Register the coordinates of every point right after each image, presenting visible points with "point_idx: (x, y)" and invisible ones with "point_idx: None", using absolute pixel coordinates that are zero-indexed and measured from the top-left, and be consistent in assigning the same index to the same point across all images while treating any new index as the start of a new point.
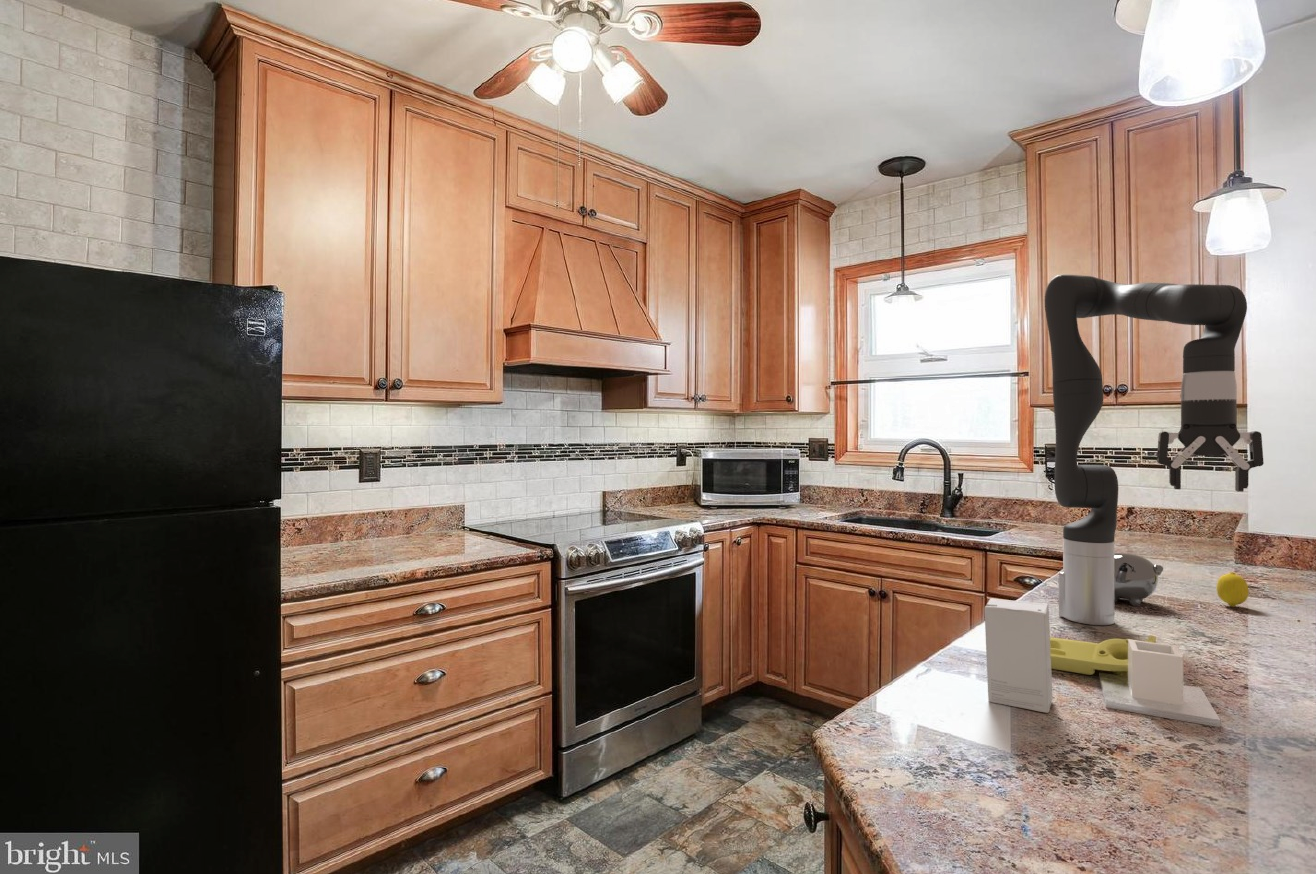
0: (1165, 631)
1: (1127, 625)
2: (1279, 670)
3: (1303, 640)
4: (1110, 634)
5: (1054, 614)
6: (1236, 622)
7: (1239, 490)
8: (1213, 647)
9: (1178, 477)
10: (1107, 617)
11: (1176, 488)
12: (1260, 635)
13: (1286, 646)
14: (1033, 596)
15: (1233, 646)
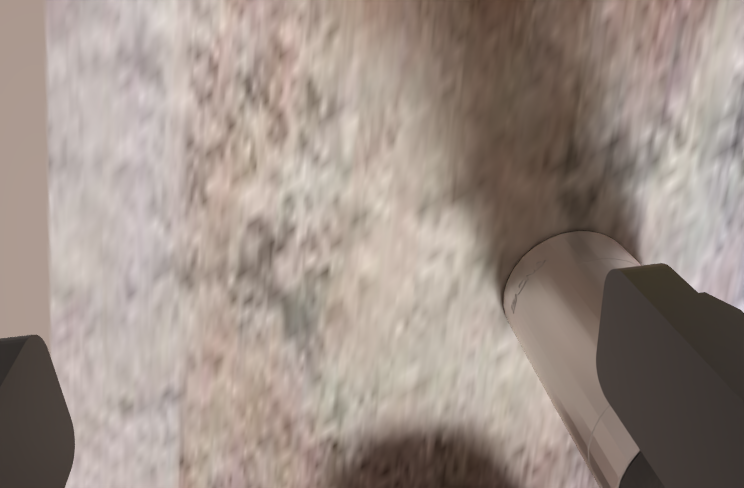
0: (378, 288)
1: (470, 293)
2: (110, 32)
3: None
4: (527, 161)
5: None
6: (203, 484)
7: (22, 338)
8: (268, 188)
9: (716, 339)
10: (533, 266)
11: (650, 267)
12: (151, 391)
13: (93, 316)
14: None
15: (218, 233)
